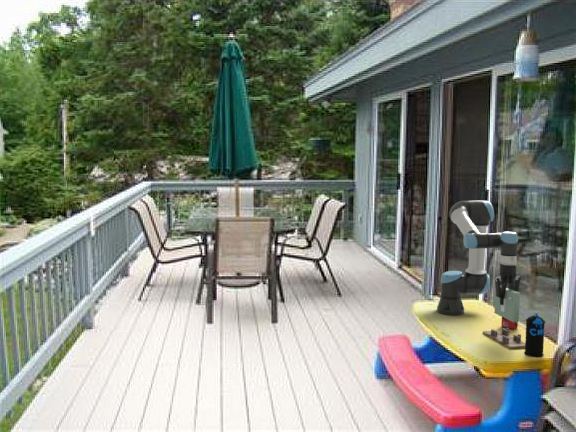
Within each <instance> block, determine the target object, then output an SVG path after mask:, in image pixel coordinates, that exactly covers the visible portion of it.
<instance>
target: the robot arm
mask: <svg viewBox="0 0 576 432" xmlns="http://www.w3.org/2000/svg"><path fill="white" fill-rule="evenodd" d="M449 218H450V220H451V222H452V223H453V224H455V225H456V226H457V228H458V229H459V231H460V233H462V236H463V238H462V239H463V240H462V241H463V247H464V248H466V249H468V250H469V251H468V252H469V254H468V267H467V268H466V269H465V272H464V273H463V272H462V271H461V270H449V271H444V272H443V273H442V274H441V277H440V298H439V301H438V304H437V306H436V312H437V311H438V312H437V313H439V314H442V315H445V316H446V315H447V316H461V315H464V313H465V307H464V303H463V299H462V295H484V294H487V292H488V291H489V289H490V285H491V277H490V275H489V273H487V270H486V269H485V259H486V249H500V253H499V254H500V256H499V259H500V260H499V262H500V264H499V275H498V276H497V277H493V278H494V281H495V286H496V296H497V297H499V298H500V305H501V311H503V312H505V307H506V299H505V298H504V297H505V292H506V288H507V286H508V288H509V289H511V290H514V291H516V292H519V290H520V282H521V279H522V277H521V276H518V275H517V274H516V273H517V268H518V267H517V263H518V261H517V259H518V242H519V237H518V233H517V232H515V231H503V232H499V231H498V232H495V233H487V228H488V227H489V226H490V225H491V223H490V222H493V221H494V218H495V211H494V207H493V204H492V203H491V202H490V201H489V200H461V201H460V200H459V201H458V202H456V203H455V204H454V203H453V205H452V207H450V210H449ZM519 293H520V292H519Z"/></svg>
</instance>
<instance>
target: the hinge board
mask: <svg viewBox="0 0 576 432" xmlns="http://www.w3.org/2000/svg"><path fill="white" fill-rule="evenodd" d="M482 334H483V335H485V336H486V337H488V338H489V339H491V340H493V341H494V342H497V343H498V344H500V345H502V346H503V347H505V348H506V349H509V350H518V349H525V342H524V341H522V334H520V333H518V334H513V336H512V335H511V334H510V330H509V328H506V329H504V328H503V327H502V328H501V330H500V329H497V330H496V329H493V328H491V330H483V331H482Z"/></svg>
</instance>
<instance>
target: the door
mask: <svg viewBox="0 0 576 432" xmlns="http://www.w3.org/2000/svg"><path fill="white" fill-rule="evenodd" d="M494 287H495V289H494V311H493V313H494V314H496V315H498V316H499V317H501V318H502V317H504V318H506V319H508V320H510V321H512V322H518V323H519V321H520V305H521V304H520V302H521V301H520V300H521V299H520V298H521V296H520V295H521V293H520V292H516V291H514V290H511V289H509V287H506V292H505V297H504V298H505V299H506V307H505V312H503V311H501V305H500V298H499V297H497V296H496V285H495V286H494Z"/></svg>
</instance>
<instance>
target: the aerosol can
mask: <svg viewBox="0 0 576 432" xmlns="http://www.w3.org/2000/svg"><path fill="white" fill-rule="evenodd" d="M525 321H526V322H525V324H526V325H525V342H524V343H525V348H524V351H523V352H524V354H525V355H526V356H528V357H531V356H532V358H541V357H543V356H545V355H544V341H545V324H546V321H545V320H544V319H543V317H541V316H539V312H538V311H533V314H532V315H531V316H527V318H526V319H525Z"/></svg>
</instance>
